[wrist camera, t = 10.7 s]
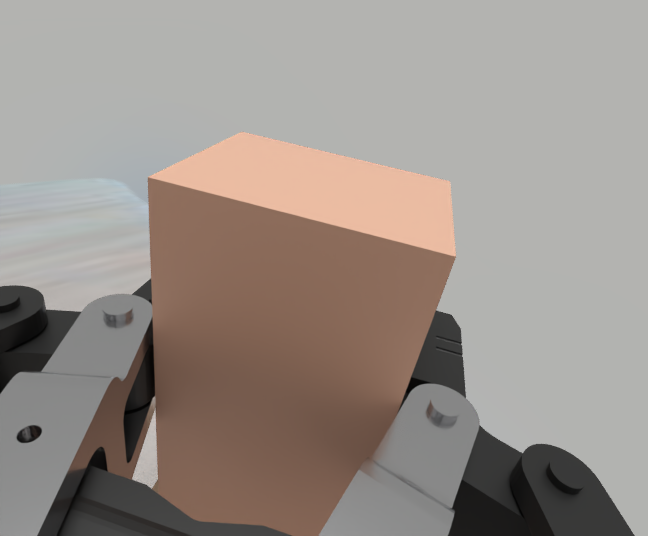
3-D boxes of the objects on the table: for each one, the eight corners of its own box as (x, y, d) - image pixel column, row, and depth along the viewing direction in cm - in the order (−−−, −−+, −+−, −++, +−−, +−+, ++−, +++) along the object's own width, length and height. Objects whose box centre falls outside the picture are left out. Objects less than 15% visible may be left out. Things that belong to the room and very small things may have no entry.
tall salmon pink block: (160, 543, 11) (147, 176, 6) (219, 436, 14) (242, 131, 9) (326, 604, 11) (456, 256, 6) (350, 480, 14) (450, 181, 9)
